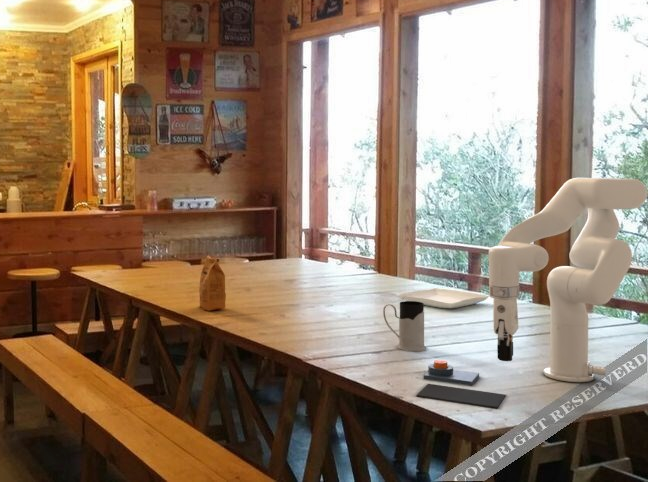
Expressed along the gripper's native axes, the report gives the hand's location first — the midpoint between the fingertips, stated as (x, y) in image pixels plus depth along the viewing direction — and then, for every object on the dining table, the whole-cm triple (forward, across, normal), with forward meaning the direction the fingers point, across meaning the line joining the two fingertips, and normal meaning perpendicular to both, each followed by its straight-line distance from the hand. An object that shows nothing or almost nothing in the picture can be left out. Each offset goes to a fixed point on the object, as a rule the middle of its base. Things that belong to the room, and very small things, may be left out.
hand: (505, 356), depth 217 cm
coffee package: (+8, +58, +125) cm, 138 cm away
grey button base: (+8, +1, +15) cm, 17 cm away
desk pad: (+8, -15, +9) cm, 19 cm away
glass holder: (+9, +31, +37) cm, 49 cm away
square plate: (+11, +114, +44) cm, 123 cm away
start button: (+5, +1, +18) cm, 18 cm away
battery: (+1, 0, 0) cm, 1 cm away
